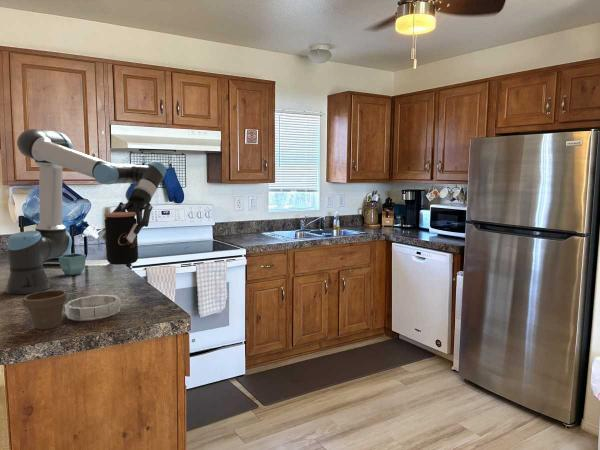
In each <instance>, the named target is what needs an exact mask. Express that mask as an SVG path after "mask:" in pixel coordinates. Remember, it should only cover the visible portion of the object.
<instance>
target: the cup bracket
mask: <svg viewBox="0 0 600 450" xmlns="http://www.w3.org/2000/svg"><path fill="white" fill-rule="evenodd" d="M121 301H122V300H121V297H120V296H118V295H111V294H95V295H94V294H93V295H88V296H82V297H77V298H75V299H70V300H69V301H68V302H65V303H64V309H65V316H66V318H67V319H68V320H69V321H75V322H76V321H77V322H79V321H80V322H89V321H94V320H95V321H97V320H102V319H106V318H109V317H113V316H115V315H118V314H119V313H120V312H121V308H122V304H121V303H122V302H121Z"/></svg>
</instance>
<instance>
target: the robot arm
mask: <svg viewBox="0 0 600 450" xmlns="http://www.w3.org/2000/svg"><path fill="white" fill-rule="evenodd" d="M16 144H17V145H16V147H17V149H18V150H19V152H20V153H21V154H22V155H23V156H24V157H26V158H29V159H33V160H34V162H35V164H36V165H37V166H38V167H39V170H38V171H39V172H38V174H39V178H38V179H39V180H38V182H39V187H38V189H39V190H38V193H39V202H38V203H39V223H38V225H36V226H35V228H34V229H35V230H26V231H20V232H15V233H13V234H11V235H10V236H8V238H7V246H6V247H7V253H8V263H9V275H8V279H7V284H6V286H5V289H6V294H8V295H29V294H33V293H37V292H42V291H47V290H49V289H50V287H51V286H50V281H49V279H48V277H47V274H46V273H45V270H44V262H43V261H47V260H52V259H57V258H58V257H60V256H63V255H67V253H69V251H70V250H71V248H72V244H73V239H72V236H71V235H70V233H69V231H68V230H67V227H66V226H65V225H64V224H63V169H64V168H65V169H67V170H70V171H73V172H76V173H79V174H81V175H85V176H87V177H90V178H93V179H94V180H95V181H97V182H98V183H99V184H103V185H114V184H115V185H116V184H118V185H119V184H135V186H134V188H133V190H132V191H131V192H130V194H129V196H128V201H127V202H126V203H123V201H121V202H119V203H118V205H117V206H116V208H115V209H114V210H113V211H112V212H111V213H113V212H135V213H136V215H135V218H136V221H137V222H136V223H137V224H134V226H133V227H132V229H131V231H130V233H129V234H128V236H127V239H128V241H129V242H130V243H132V242H133V240H134V238H135V237H136V235H137V236H138V235H139V233H140V232H141V230H142V229H143V228H144V227H146V228H147V227H148V226H149V222H150V217H151V212H152V210H153V206H152V204H151V201H152V198H153V197H154V196H155V193H156V191H157V189H158V188H159V186H160V184H161V183H162V181H163V180H164V177H165V175H166V173H167V168H166V166H165V165H164V163H162V162H160V161H158V160H152V161H150V162H148V164H147V165H139V164H138V165H137V164H131V163H124V162H123V163H113V162H112V163H111V162H109V161H106V160H103V159H100V158H98V157H94V156H91V155H89V154H85V153H83V152H80V151H78V150H76V149H75V150H74V149H73V143H72V141H71V140H70V138H69V137H68V136H67V135H66V134H65V133H62V132H60V131H56V130H46V129H44V130H43V129H36V128H30V129H27V130H24V131H22V132H20V133H19V135H18V136H17V141H16ZM105 220H106V218H105V219H104V221H105ZM100 238H101V239H102V240H103V241H104V242H106V232H105V228H104V229H103V232H102V234H101V235H100ZM58 259H59V258H58Z"/></svg>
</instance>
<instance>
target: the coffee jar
mask: <svg viewBox="0 0 600 450" xmlns="http://www.w3.org/2000/svg"><path fill="white" fill-rule="evenodd" d="M112 212H113V211H112ZM112 212H106V213H104V217H105V219H106V220H105V219H104V229H105V232H106V241H105V243H106V246H105V247H106V248H105V249H106V260H107V262H108V263H109V264H110V265H113V266H116V265H117V266H119V265H123V266H124V265H130V264H131V265H132V264H134V263H137V261H138V259H139V247H138V246H139V245H138V244H139V243H138V234H137V235H136V237H135V238H134V240H133V242H132V243H130V242H129V241H128V239H127V236H128V234H129V233H130V231H131V229H132V227H133V226H134V224H137V223H136V222H137V219H136V213H135V212H127V211H126V212H113V213H112Z"/></svg>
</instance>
